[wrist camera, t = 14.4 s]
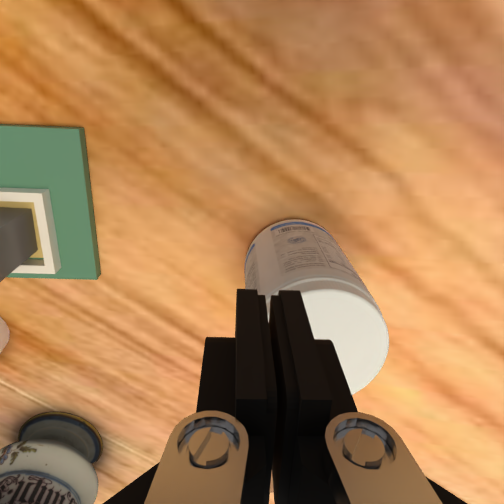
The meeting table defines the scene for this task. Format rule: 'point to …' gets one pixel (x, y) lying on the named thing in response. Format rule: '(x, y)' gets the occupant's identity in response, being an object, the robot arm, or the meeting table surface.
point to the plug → (15, 238)
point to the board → (51, 198)
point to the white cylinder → (3, 334)
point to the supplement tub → (322, 293)
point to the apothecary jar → (51, 462)
